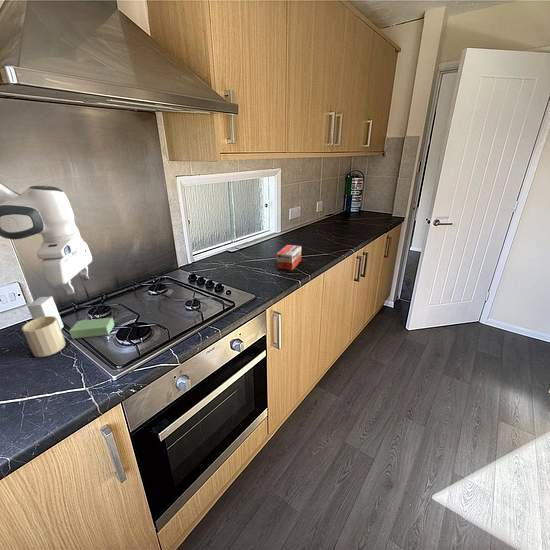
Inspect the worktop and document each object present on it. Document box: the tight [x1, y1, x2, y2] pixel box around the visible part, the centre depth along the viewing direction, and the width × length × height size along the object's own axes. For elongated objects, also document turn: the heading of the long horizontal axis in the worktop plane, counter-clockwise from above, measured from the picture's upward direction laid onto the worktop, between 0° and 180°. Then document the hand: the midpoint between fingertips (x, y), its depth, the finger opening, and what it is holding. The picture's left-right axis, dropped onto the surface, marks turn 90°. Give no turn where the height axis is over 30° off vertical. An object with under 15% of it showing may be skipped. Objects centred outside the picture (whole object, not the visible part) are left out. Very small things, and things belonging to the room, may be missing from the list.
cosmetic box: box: [27, 296, 65, 330], centre depth 95 cm, size 6×4×12 cm
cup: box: [21, 316, 67, 358], centre depth 88 cm, size 8×8×9 cm
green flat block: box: [68, 317, 115, 340], centre depth 97 cm, size 11×6×3 cm, turn 100°
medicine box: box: [276, 244, 302, 271], centre depth 147 cm, size 15×8×8 cm, turn 158°
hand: (78, 286), depth 90 cm, fingers open, 8 cm apart
